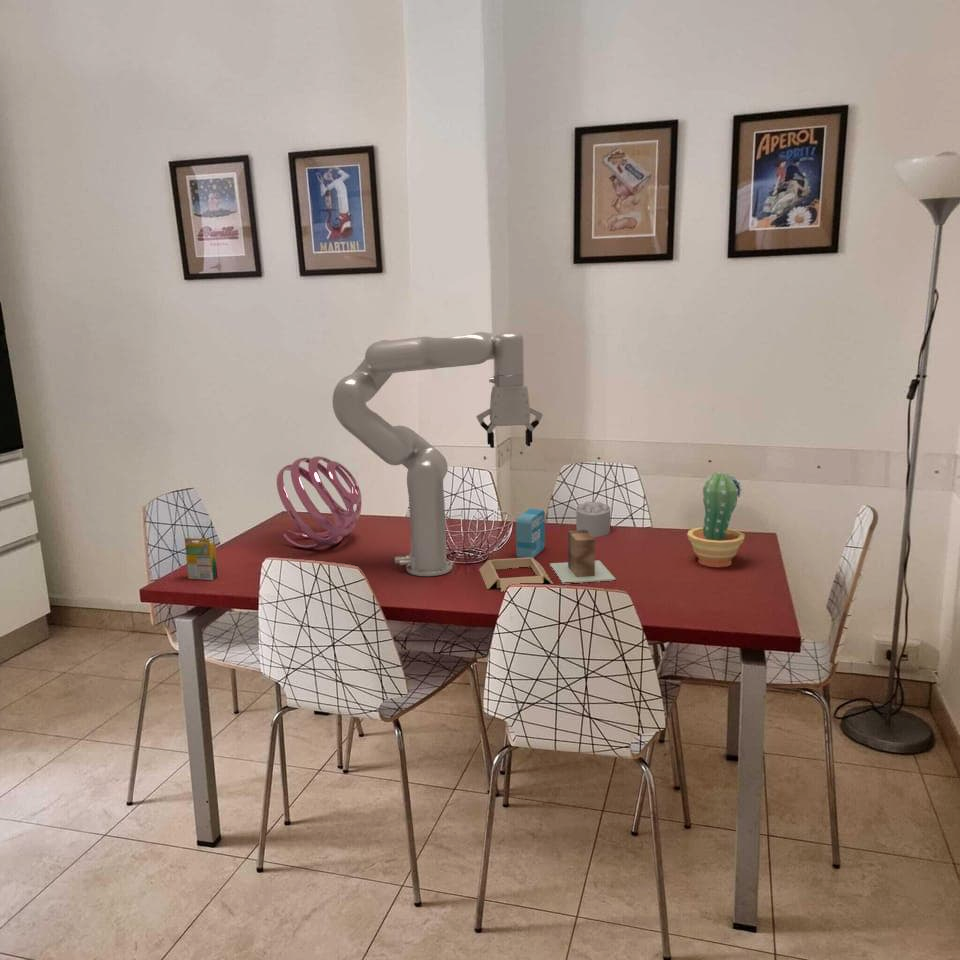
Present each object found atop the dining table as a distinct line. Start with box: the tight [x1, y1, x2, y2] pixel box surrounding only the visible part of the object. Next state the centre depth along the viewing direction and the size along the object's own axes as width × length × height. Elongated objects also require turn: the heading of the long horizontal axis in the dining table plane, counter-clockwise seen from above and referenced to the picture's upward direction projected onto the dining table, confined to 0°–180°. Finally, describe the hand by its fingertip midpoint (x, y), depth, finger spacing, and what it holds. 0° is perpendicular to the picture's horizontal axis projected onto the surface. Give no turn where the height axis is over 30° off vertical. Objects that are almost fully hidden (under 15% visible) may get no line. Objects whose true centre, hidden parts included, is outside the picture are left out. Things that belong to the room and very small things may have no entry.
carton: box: [478, 557, 554, 593], centre depth 234 cm, size 17×21×3 cm
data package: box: [515, 508, 546, 559], centre depth 253 cm, size 12×4×12 cm, turn 157°
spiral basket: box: [276, 455, 363, 550], centre depth 266 cm, size 28×28×27 cm
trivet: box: [549, 559, 616, 585], centre depth 236 cm, size 14×16×1 cm
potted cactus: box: [686, 471, 746, 568], centre depth 240 cm, size 15×15×25 cm
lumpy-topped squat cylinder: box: [575, 501, 611, 538], centre depth 274 cm, size 10×13×9 cm
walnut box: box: [567, 529, 596, 577], centre depth 235 cm, size 5×9×10 cm, turn 8°
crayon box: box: [184, 537, 219, 581], centre depth 238 cm, size 7×3×12 cm, turn 80°
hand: (509, 446), depth 232 cm, fingers open, 9 cm apart
